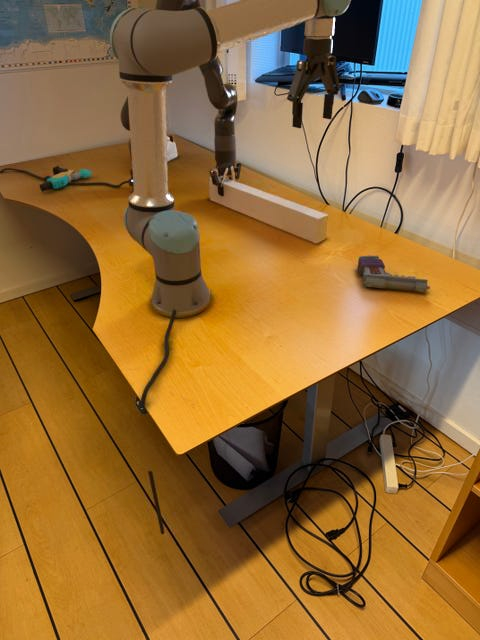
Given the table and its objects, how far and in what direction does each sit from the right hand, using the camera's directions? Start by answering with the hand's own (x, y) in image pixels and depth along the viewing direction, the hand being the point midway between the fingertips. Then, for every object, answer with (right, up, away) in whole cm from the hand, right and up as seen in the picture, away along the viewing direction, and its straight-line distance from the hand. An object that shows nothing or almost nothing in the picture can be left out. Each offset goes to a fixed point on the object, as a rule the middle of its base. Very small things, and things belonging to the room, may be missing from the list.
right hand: (312, 123), depth 137 cm
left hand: (-26, -9, +41) cm, 49 cm away
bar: (-13, -20, +32) cm, 40 cm away
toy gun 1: (-97, 0, +62) cm, 115 cm away
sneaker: (-58, +15, +81) cm, 101 cm away
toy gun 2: (+21, -46, -3) cm, 51 cm away
